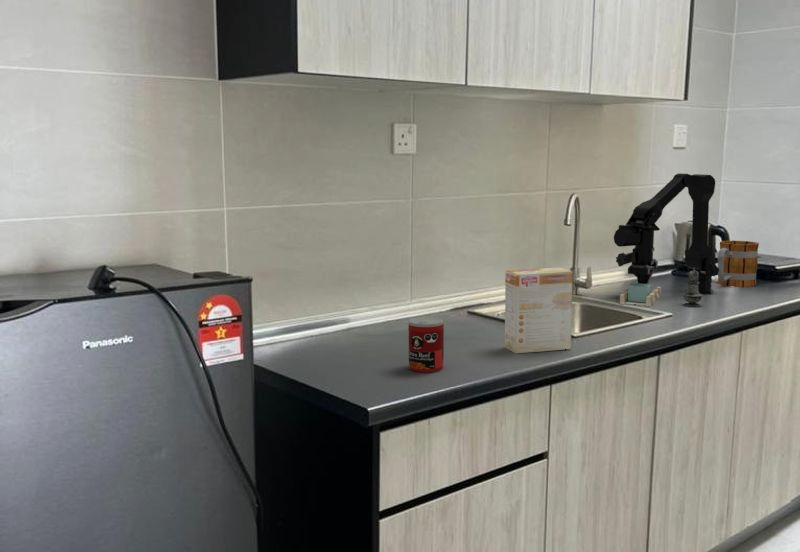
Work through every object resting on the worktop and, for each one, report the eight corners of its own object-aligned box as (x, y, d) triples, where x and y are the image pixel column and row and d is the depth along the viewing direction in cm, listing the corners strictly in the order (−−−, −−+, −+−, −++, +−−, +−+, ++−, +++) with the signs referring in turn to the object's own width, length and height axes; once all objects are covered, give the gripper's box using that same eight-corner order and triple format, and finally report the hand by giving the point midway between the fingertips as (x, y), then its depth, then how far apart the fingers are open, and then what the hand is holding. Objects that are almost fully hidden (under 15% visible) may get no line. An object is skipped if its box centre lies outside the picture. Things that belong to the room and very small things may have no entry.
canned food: (402, 369, 175) (401, 321, 174) (421, 361, 182) (421, 315, 180) (431, 375, 171) (431, 325, 169) (449, 366, 178) (450, 319, 176)
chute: (632, 293, 265) (632, 285, 264) (660, 296, 261) (661, 287, 260) (619, 304, 247) (620, 294, 247) (650, 306, 243) (650, 297, 243)
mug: (728, 279, 292) (731, 239, 290) (764, 284, 282) (767, 242, 280) (700, 285, 280) (702, 243, 278) (736, 290, 270) (739, 247, 267)
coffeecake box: (558, 343, 199) (560, 266, 196) (571, 349, 192) (574, 270, 189) (503, 347, 195) (504, 269, 192) (514, 354, 188) (516, 273, 185)
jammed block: (631, 297, 256) (632, 282, 255) (650, 299, 253) (651, 284, 252) (627, 301, 250) (628, 285, 250) (647, 302, 248) (647, 287, 247)
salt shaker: (699, 303, 247) (701, 266, 245) (704, 307, 241) (706, 269, 240) (680, 303, 248) (681, 266, 246) (684, 307, 242) (686, 268, 240)
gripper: (624, 240, 265) (622, 286, 268) (612, 246, 249) (610, 295, 251) (659, 242, 260) (656, 288, 263) (648, 248, 244) (646, 298, 246)
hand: (642, 292), depth 256 cm, fingers closed
